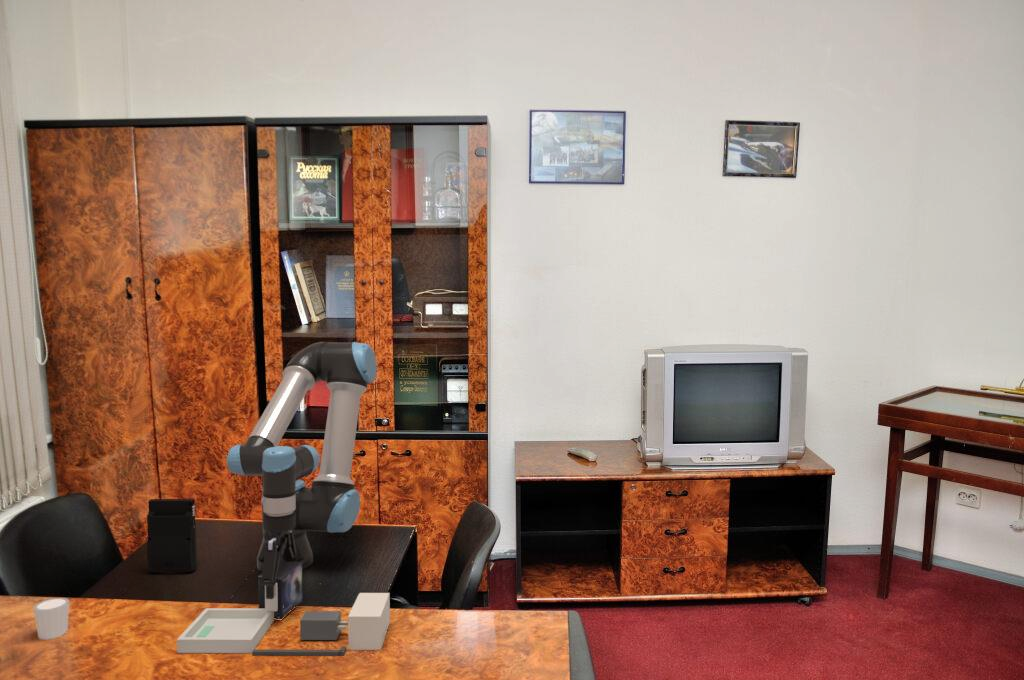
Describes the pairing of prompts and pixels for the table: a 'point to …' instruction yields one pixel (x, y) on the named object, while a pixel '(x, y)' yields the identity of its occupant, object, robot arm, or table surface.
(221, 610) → the dock
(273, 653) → the grey thin bar
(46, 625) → the white cylinder
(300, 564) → the small box
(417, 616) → the table surface
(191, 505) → the black upright device
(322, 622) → the plug
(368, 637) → the socket
